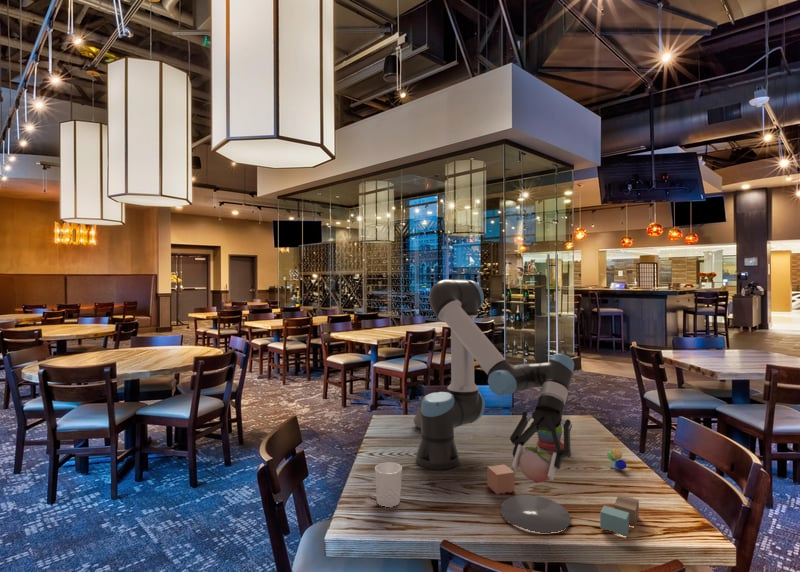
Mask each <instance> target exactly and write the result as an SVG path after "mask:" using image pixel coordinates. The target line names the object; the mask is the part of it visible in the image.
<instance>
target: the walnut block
mask: <svg viewBox="0 0 800 572" xmlns="http://www.w3.org/2000/svg"><path fill="white" fill-rule="evenodd" d="M639 506H640V499H639V498H634V497H630V496H626V495H622V494H617V498H616V499H615V502H614V505H613V508H614V509H618V510H621V511H625V512H628V513H629V525H630V526H634V527H635V526H636V527H637V524H638V521H639V518H638V517H639V515H640V509H639V508H640V507H639ZM637 520H638V521H637ZM636 523H637V524H636Z"/></svg>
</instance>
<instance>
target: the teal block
mask: <svg viewBox="0 0 800 572" xmlns="http://www.w3.org/2000/svg"><path fill="white" fill-rule="evenodd" d="M599 513H600V517H599V519H600V522H599V523H600V526H599V529H600V528H601V529H604V530H609V531H613V532H615V533H618V534H621V535H623V536H627V533H628V530H629V531H630V528H629V513H628V512H625V511H621V510H618V509H614V507H610V506H607V505H603V507H602V508H601V510H600V512H599ZM628 534H629V533H628ZM627 537H628V536H627Z"/></svg>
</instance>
